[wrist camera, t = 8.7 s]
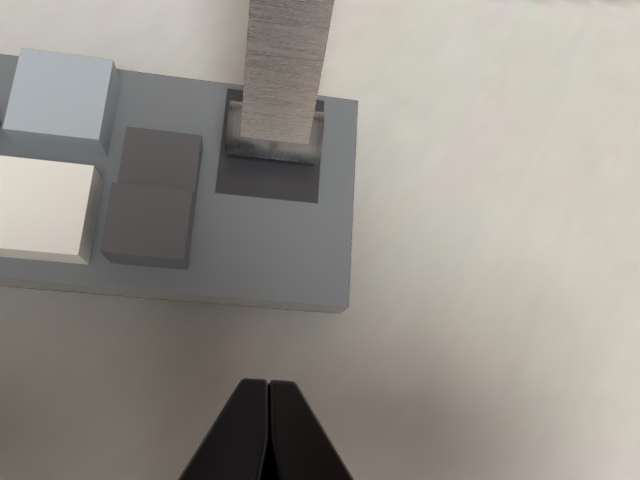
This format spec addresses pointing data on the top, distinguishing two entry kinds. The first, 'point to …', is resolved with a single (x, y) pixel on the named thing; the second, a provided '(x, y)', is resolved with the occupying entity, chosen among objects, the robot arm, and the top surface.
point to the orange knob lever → (281, 82)
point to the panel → (164, 191)
